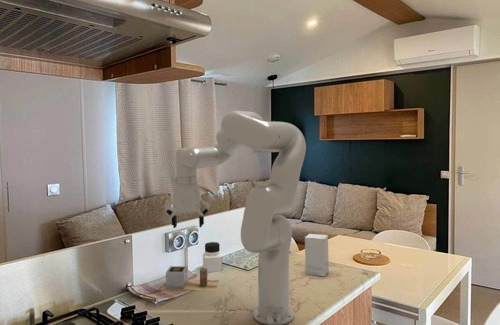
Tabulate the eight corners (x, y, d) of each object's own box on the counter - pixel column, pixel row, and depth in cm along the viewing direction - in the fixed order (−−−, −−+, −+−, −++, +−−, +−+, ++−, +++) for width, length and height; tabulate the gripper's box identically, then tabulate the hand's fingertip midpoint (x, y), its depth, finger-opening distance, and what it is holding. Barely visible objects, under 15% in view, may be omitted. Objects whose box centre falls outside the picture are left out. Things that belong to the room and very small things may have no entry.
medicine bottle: (222, 273, 157) (222, 244, 156) (205, 274, 155) (204, 245, 154) (219, 267, 163) (219, 240, 163) (202, 269, 162) (202, 241, 161)
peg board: (215, 293, 136) (215, 274, 136) (160, 293, 137) (159, 274, 136) (218, 282, 146) (218, 264, 146) (166, 282, 147) (166, 264, 146)
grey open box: (184, 288, 138) (184, 272, 138) (166, 288, 138) (165, 272, 138) (187, 281, 145) (187, 266, 144) (170, 281, 145) (170, 266, 144)
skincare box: (329, 272, 157) (329, 235, 156) (324, 277, 151) (324, 238, 150) (309, 269, 161) (309, 232, 160) (304, 274, 155) (304, 236, 154)
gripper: (161, 182, 138) (162, 229, 139) (208, 181, 138) (210, 228, 139) (165, 180, 145) (167, 225, 146) (210, 179, 145) (212, 224, 146)
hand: (188, 226), depth 143 cm, fingers open, 9 cm apart
